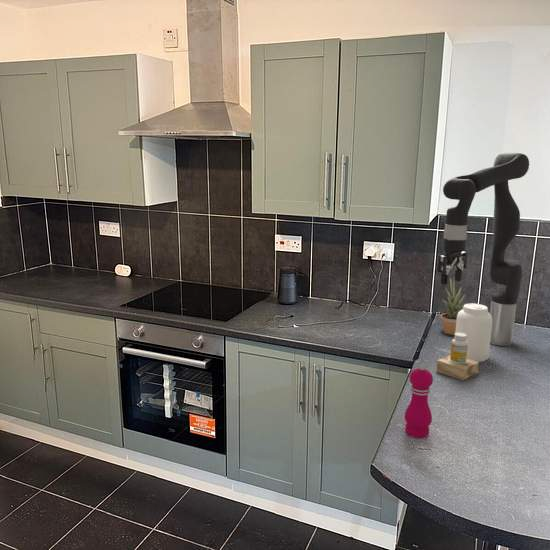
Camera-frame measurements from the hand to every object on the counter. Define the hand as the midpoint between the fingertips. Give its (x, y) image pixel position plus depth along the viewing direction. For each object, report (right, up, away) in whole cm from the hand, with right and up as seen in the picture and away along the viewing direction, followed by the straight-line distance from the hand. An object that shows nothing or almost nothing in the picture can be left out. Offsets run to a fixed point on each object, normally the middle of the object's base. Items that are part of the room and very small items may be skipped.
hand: (451, 282), depth 184 cm
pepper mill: (-23, -41, -41) cm, 62 cm away
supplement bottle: (+2, -27, -3) cm, 28 cm away
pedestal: (+2, -31, -2) cm, 31 cm away
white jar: (+12, -28, +13) cm, 33 cm away
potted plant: (+13, -22, +39) cm, 47 cm away
